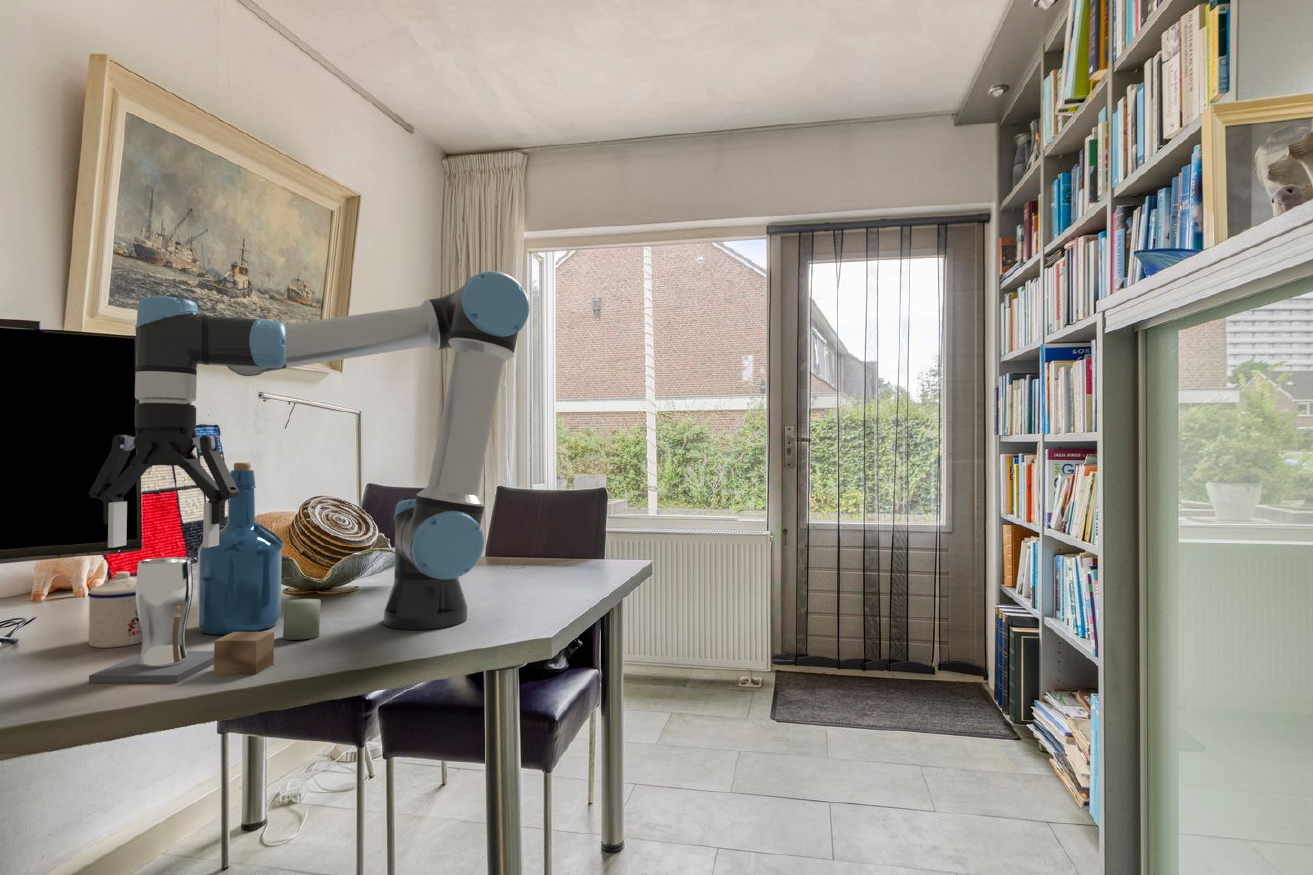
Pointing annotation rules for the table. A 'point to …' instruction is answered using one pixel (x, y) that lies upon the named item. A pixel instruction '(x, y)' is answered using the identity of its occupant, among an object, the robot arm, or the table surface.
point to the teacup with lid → (114, 613)
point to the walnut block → (243, 653)
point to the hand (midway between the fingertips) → (164, 546)
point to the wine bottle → (240, 569)
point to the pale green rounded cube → (301, 619)
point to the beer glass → (163, 610)
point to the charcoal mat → (153, 670)
